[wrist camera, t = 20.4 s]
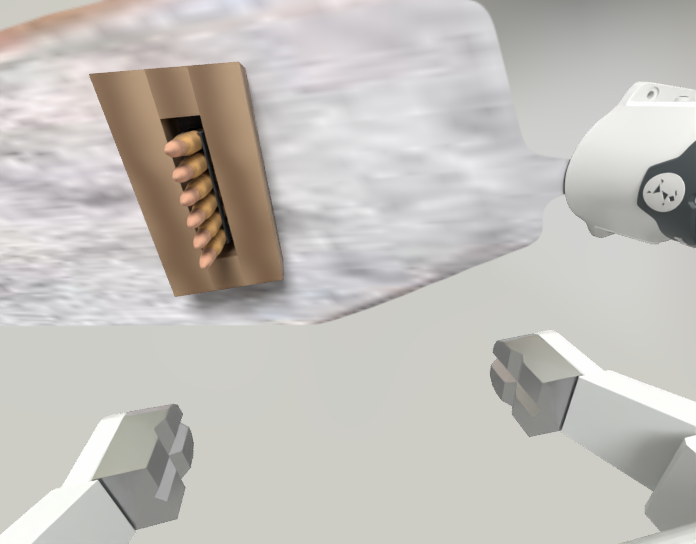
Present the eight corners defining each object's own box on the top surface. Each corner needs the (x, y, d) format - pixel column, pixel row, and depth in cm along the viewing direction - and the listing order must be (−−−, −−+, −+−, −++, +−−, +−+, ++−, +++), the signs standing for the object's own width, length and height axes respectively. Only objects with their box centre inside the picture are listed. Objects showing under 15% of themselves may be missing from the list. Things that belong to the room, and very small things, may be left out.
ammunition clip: (235, 228, 37) (217, 277, 27) (218, 230, 37) (193, 280, 27) (210, 126, 33) (176, 135, 22) (191, 127, 32) (147, 138, 22)
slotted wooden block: (244, 68, 31) (238, 61, 26) (282, 260, 40) (283, 279, 36) (117, 78, 30) (88, 74, 25) (187, 275, 39) (175, 296, 34)
